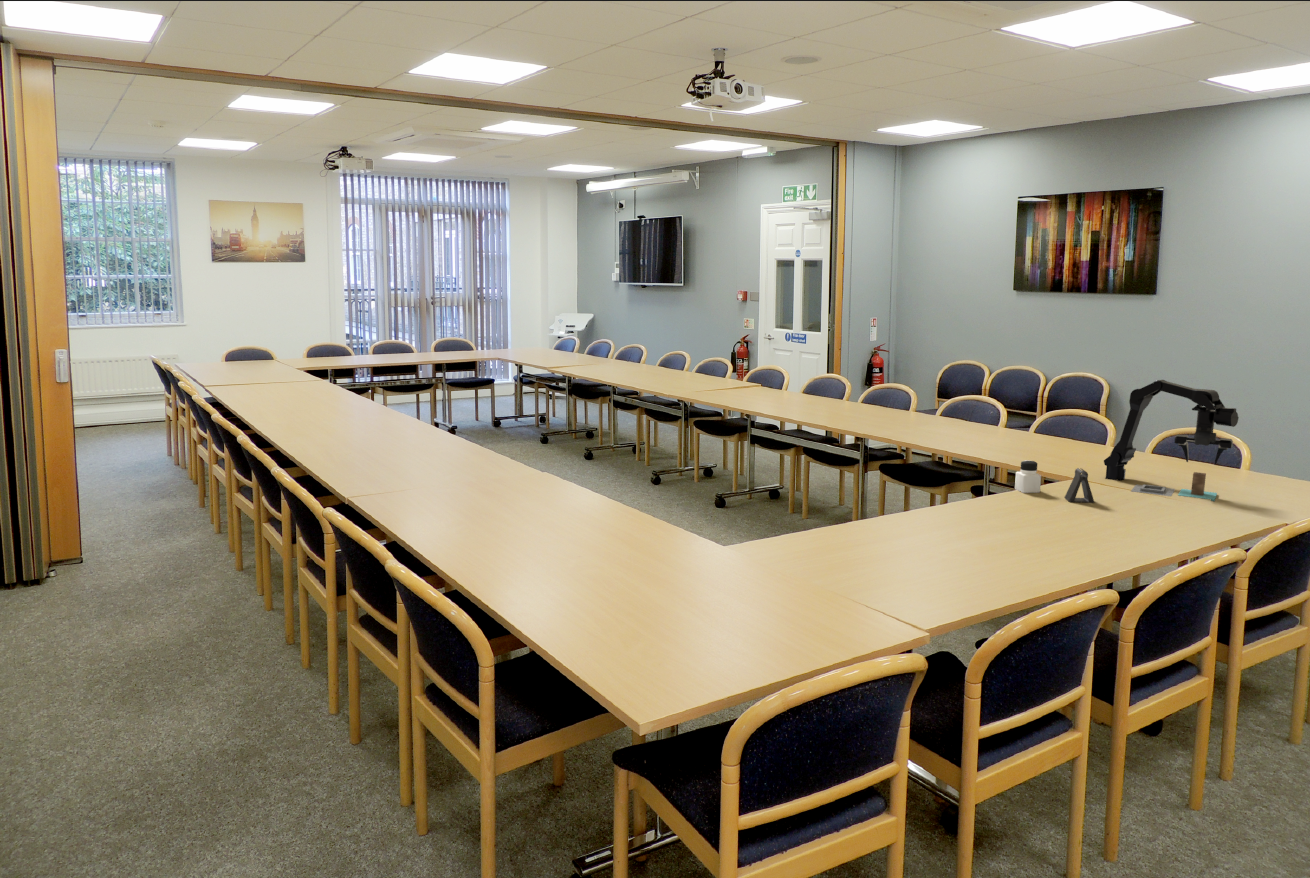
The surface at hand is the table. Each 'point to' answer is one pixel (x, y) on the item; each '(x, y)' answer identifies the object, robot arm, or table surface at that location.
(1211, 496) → the mat
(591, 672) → the table surface
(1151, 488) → the holder
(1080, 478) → the phone stand
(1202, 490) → the walnut block
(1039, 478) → the medicine bottle
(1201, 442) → the robot arm
